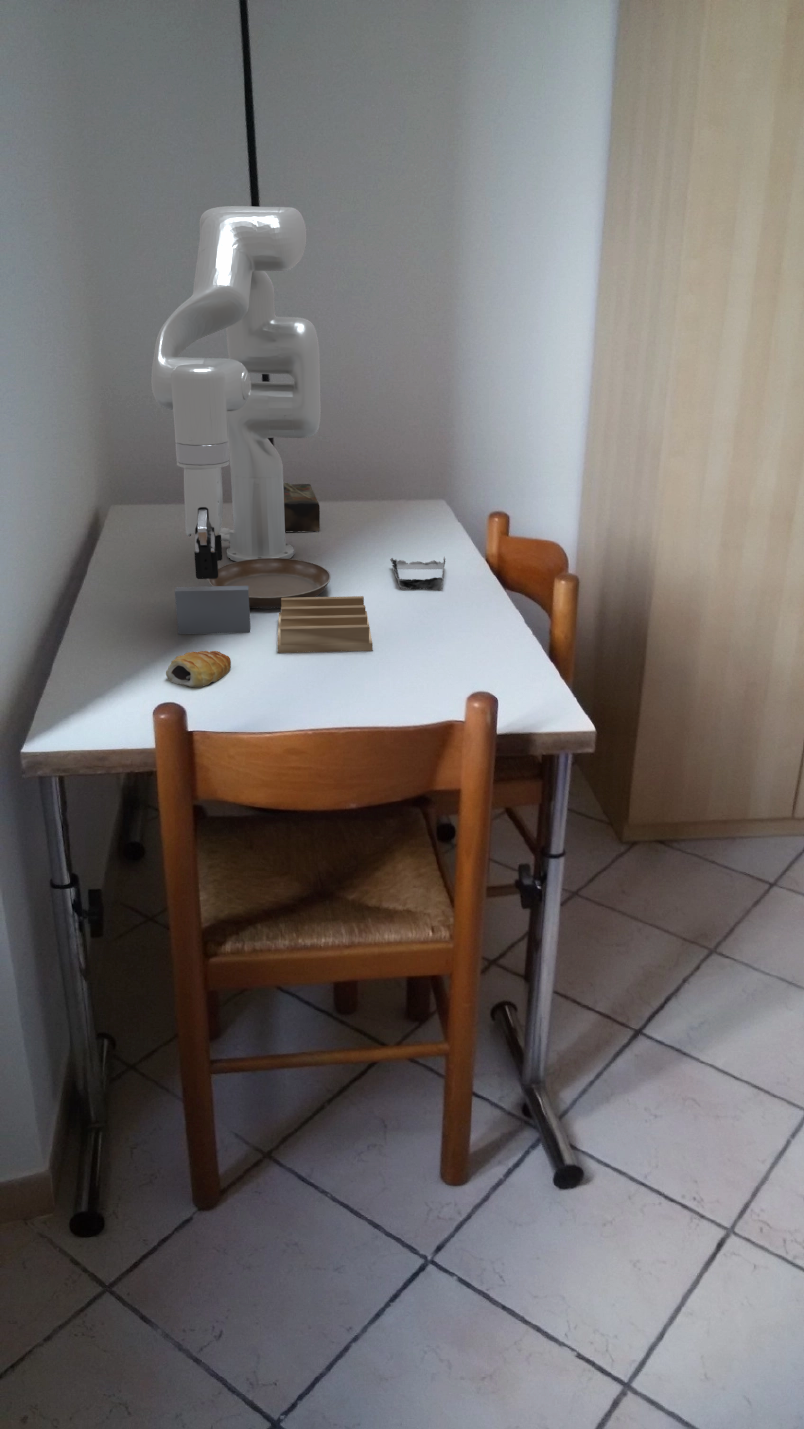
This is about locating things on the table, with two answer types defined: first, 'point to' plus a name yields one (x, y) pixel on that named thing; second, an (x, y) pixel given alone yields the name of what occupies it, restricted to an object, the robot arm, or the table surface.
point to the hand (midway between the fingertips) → (209, 569)
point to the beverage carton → (300, 508)
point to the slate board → (213, 609)
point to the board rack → (323, 625)
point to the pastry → (198, 668)
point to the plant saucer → (274, 579)
